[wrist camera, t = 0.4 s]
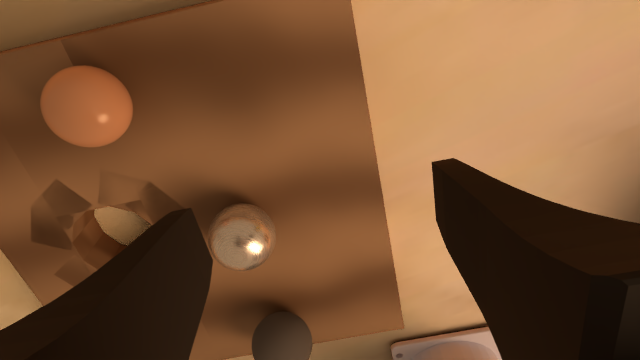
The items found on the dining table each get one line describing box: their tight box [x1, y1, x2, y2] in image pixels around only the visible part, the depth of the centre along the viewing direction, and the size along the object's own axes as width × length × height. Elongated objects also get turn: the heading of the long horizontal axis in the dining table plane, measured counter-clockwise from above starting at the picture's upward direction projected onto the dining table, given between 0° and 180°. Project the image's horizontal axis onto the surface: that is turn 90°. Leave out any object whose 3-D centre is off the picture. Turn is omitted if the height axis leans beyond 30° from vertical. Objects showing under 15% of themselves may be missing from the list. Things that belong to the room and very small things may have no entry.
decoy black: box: [252, 311, 312, 360], centre depth 23 cm, size 3×3×3 cm
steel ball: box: [208, 203, 276, 271], centre depth 20 cm, size 3×3×3 cm
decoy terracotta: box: [40, 65, 133, 147], centre depth 16 cm, size 3×3×3 cm
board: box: [0, 0, 404, 360], centre depth 22 cm, size 20×20×2 cm
